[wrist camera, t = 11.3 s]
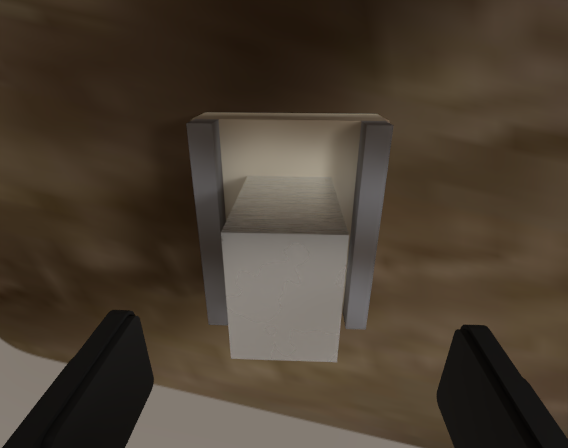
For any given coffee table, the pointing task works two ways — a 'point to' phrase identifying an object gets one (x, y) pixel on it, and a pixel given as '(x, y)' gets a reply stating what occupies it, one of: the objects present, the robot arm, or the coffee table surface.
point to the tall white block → (285, 269)
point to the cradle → (300, 163)
